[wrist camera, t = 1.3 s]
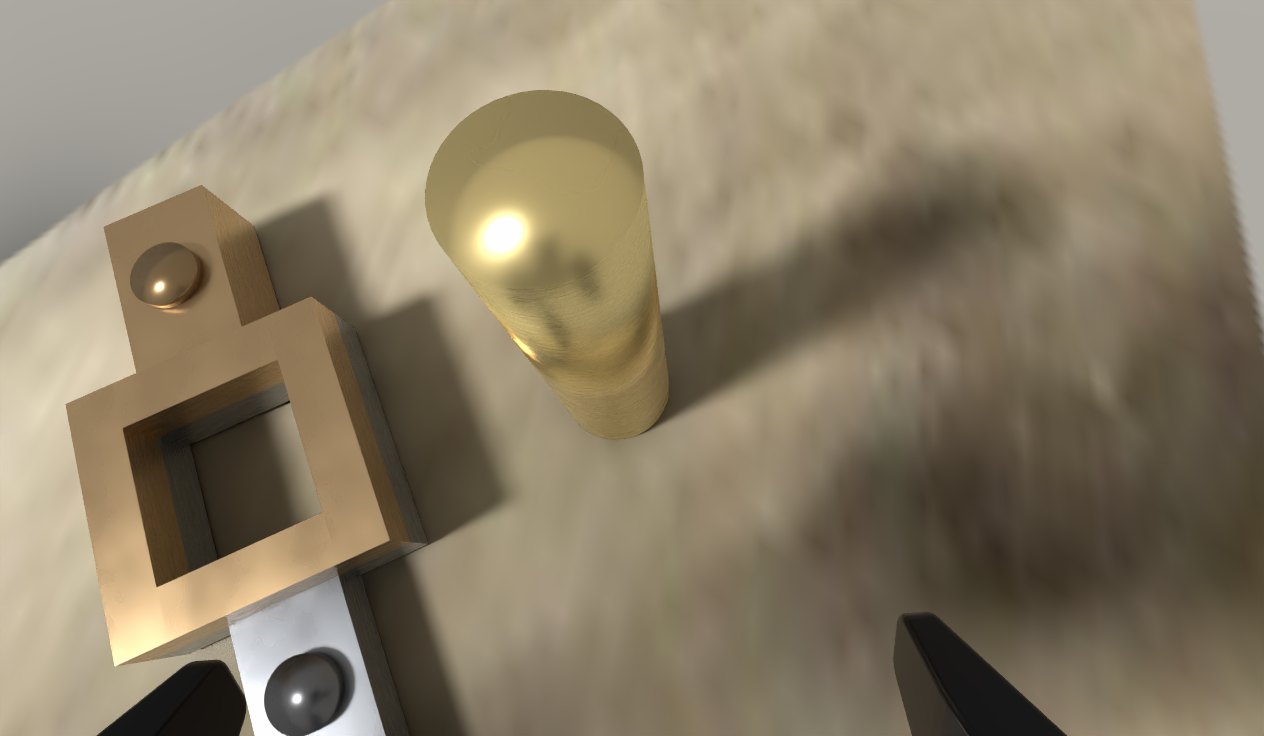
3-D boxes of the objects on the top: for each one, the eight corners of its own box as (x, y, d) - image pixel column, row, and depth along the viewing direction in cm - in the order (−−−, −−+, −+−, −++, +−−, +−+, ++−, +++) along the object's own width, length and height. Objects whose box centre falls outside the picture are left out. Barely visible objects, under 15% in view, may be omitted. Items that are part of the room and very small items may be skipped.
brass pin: (686, 412, 23) (681, 228, 11) (589, 457, 23) (468, 323, 11) (643, 322, 24) (591, 58, 12) (549, 364, 24) (396, 143, 12)
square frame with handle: (537, 864, 20) (506, 922, 16) (265, 996, 19) (178, 1082, 16) (311, 201, 27) (259, 150, 23) (109, 289, 26) (26, 250, 23)
